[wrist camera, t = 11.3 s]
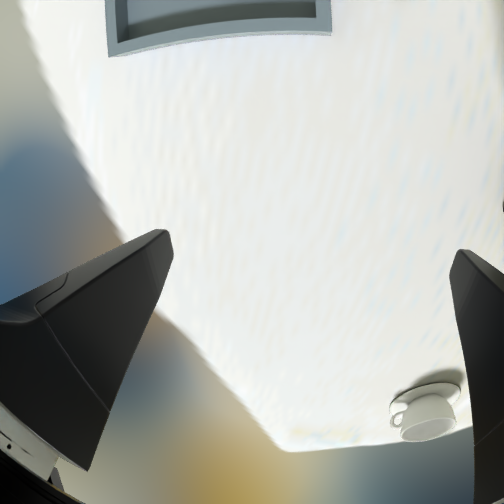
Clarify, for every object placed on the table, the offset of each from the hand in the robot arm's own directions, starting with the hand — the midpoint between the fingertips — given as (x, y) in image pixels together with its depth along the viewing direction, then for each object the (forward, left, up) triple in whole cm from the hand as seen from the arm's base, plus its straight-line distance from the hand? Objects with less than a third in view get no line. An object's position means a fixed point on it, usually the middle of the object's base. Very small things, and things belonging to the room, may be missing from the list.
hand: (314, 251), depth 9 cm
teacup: (-17, +30, -12) cm, 37 cm away
